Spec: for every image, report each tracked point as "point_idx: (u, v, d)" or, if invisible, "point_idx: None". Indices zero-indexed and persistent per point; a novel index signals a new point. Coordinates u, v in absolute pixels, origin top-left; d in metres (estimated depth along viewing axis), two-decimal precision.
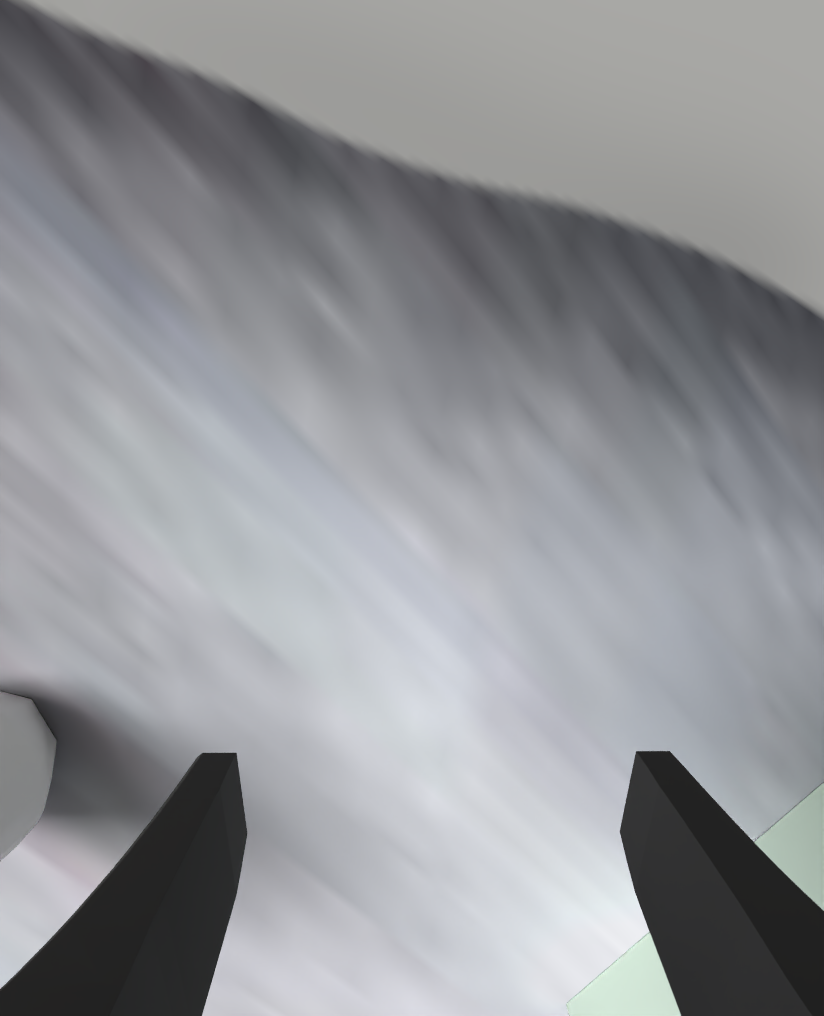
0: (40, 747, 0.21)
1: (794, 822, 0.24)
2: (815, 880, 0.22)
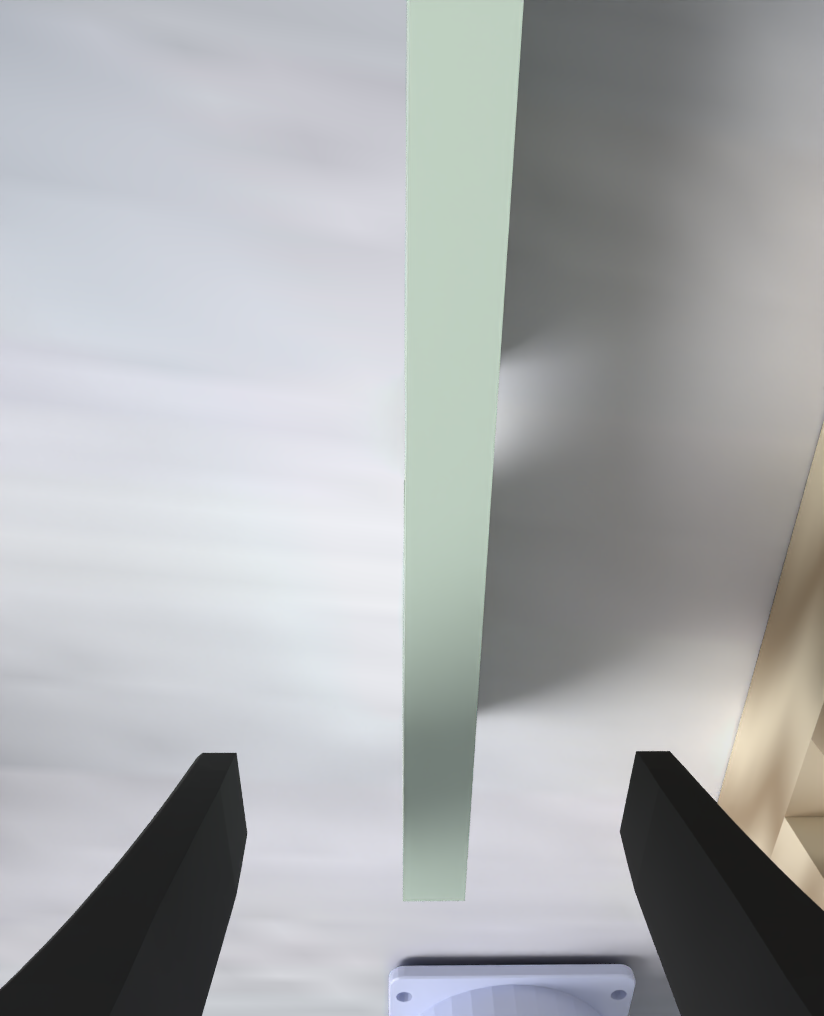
0: None
1: None
2: None
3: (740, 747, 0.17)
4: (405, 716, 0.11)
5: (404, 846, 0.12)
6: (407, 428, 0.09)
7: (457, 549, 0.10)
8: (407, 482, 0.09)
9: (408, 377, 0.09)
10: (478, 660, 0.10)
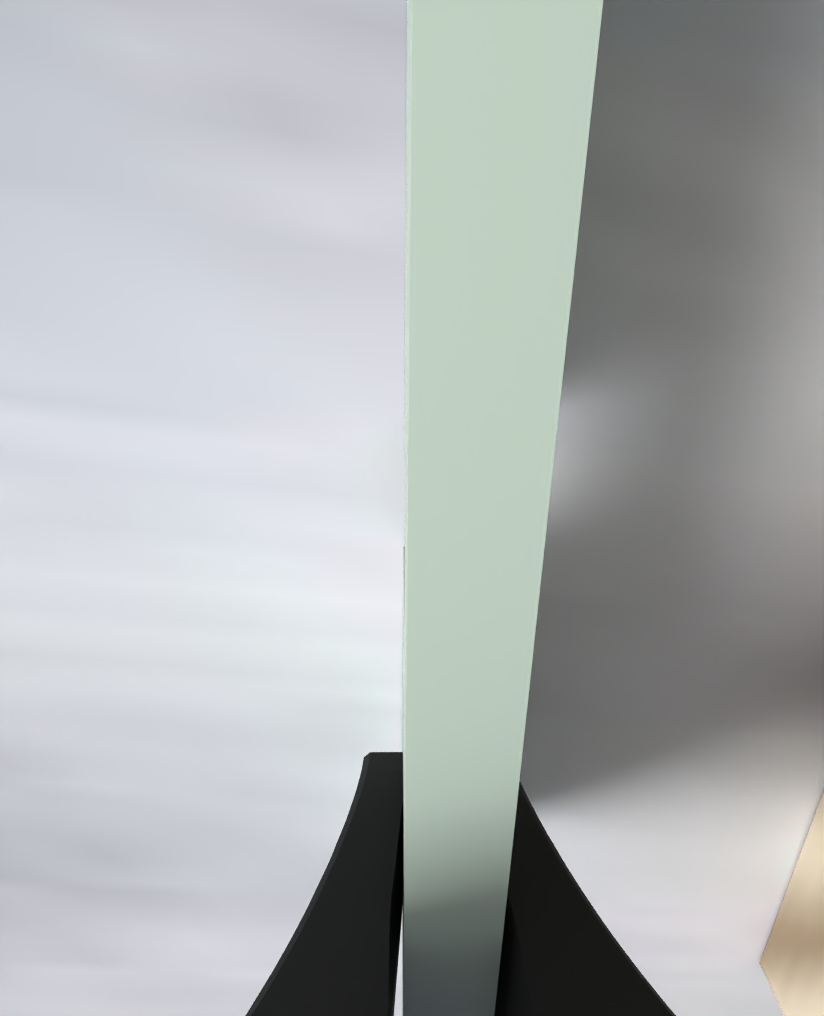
0: None
1: None
2: None
3: (811, 856, 0.14)
4: (406, 910, 0.08)
5: None
6: (409, 537, 0.06)
7: (483, 702, 0.06)
8: (409, 613, 0.06)
9: (411, 462, 0.05)
10: (510, 842, 0.07)
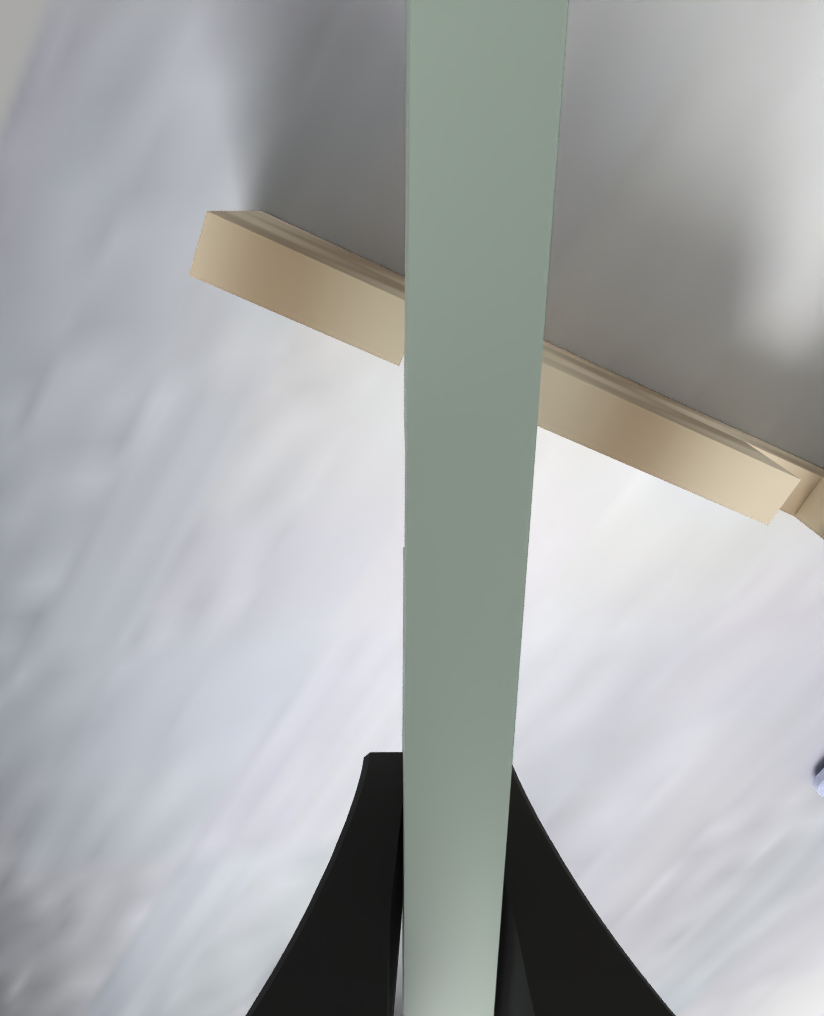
0: None
1: None
2: None
3: None
4: (406, 877, 0.08)
5: None
6: (408, 485, 0.06)
7: (477, 651, 0.07)
8: (408, 560, 0.06)
9: (410, 413, 0.06)
10: (506, 802, 0.08)
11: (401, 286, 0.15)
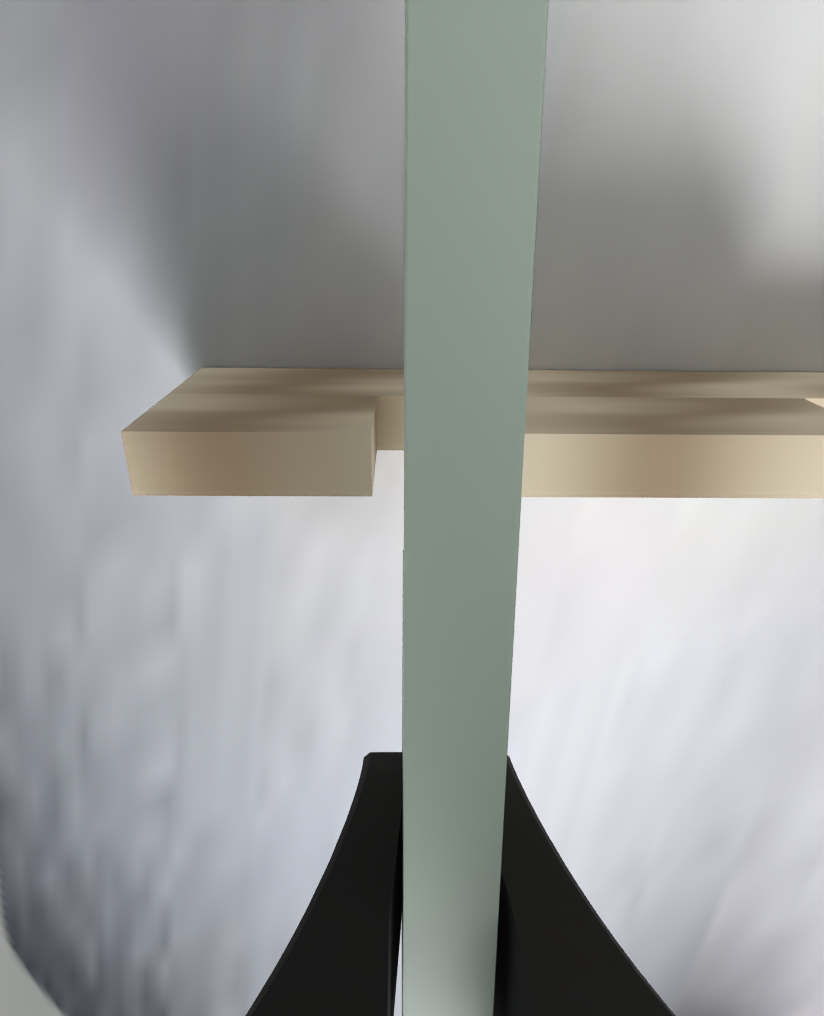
0: None
1: (404, 244, 0.10)
2: None
3: None
4: (405, 856, 0.08)
5: None
6: (407, 458, 0.07)
7: (474, 622, 0.07)
8: (407, 531, 0.07)
9: (408, 390, 0.06)
10: (503, 776, 0.08)
11: (353, 398, 0.13)
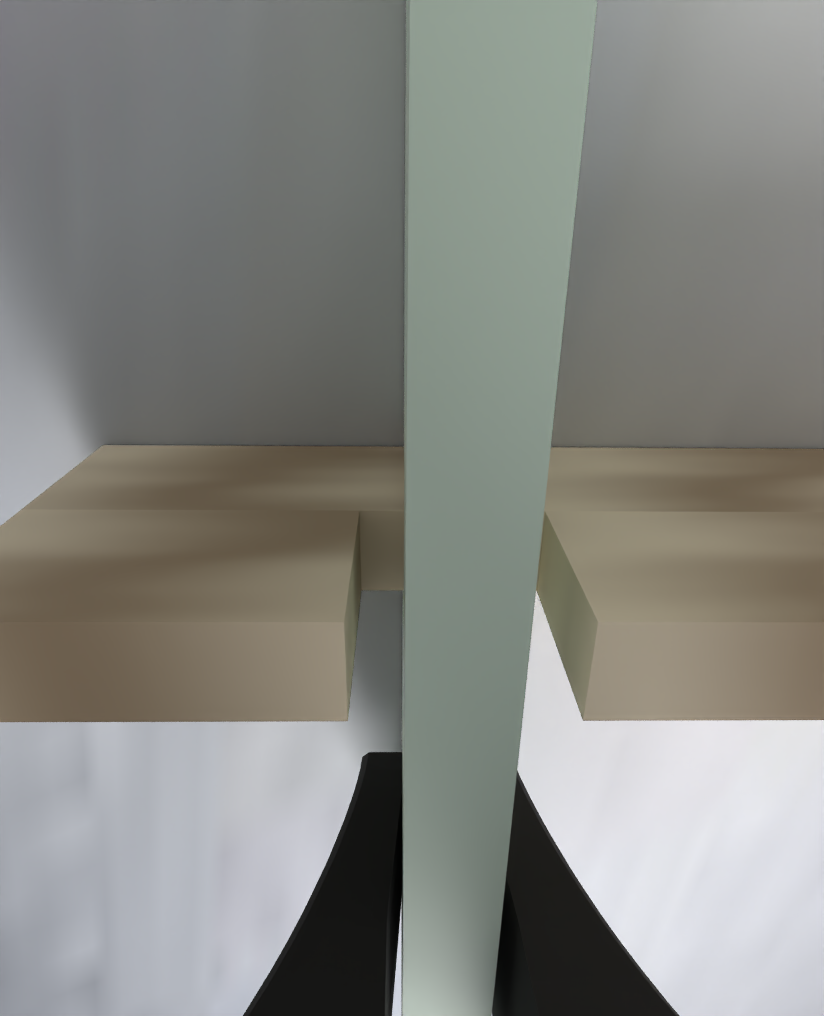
0: None
1: None
2: (406, 300, 0.07)
3: None
4: (405, 912, 0.08)
5: None
6: (407, 550, 0.06)
7: (479, 710, 0.07)
8: (407, 623, 0.06)
9: (409, 478, 0.06)
10: (506, 846, 0.07)
11: (321, 518, 0.08)
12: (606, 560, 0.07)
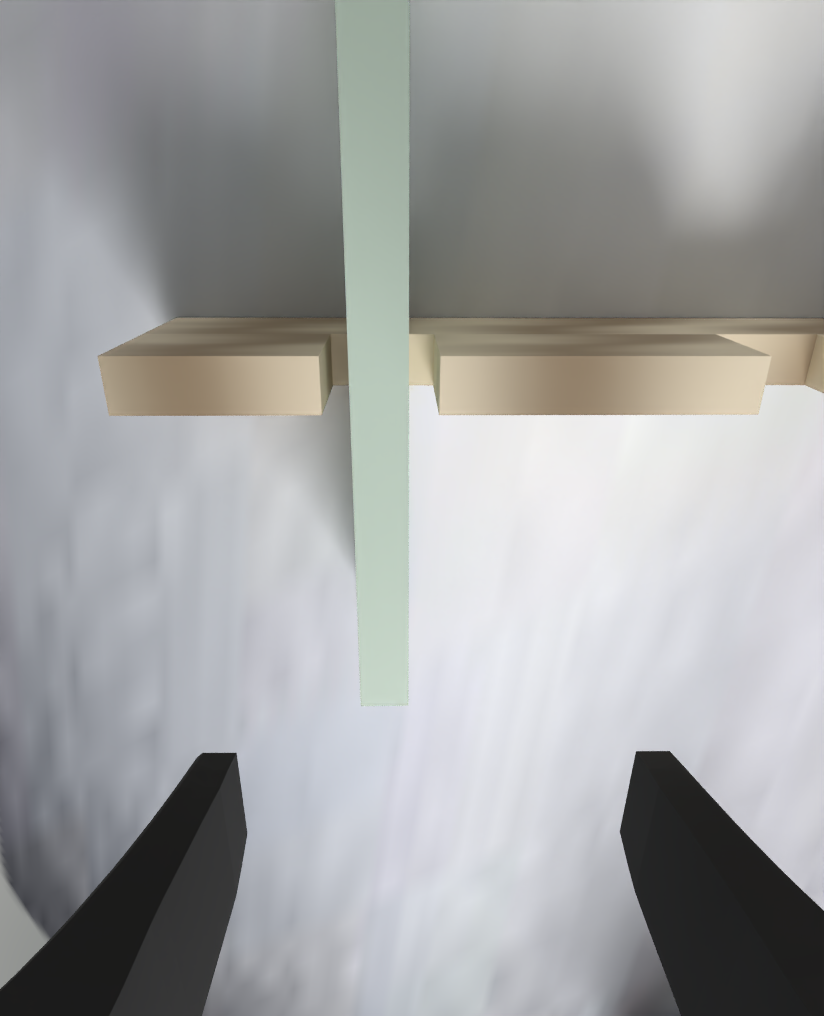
0: None
1: None
2: None
3: None
4: (355, 544, 0.15)
5: (359, 657, 0.16)
6: (347, 316, 0.13)
7: (386, 408, 0.13)
8: (349, 357, 0.13)
9: (346, 278, 0.12)
10: (407, 498, 0.14)
11: (309, 335, 0.15)
12: (456, 344, 0.14)
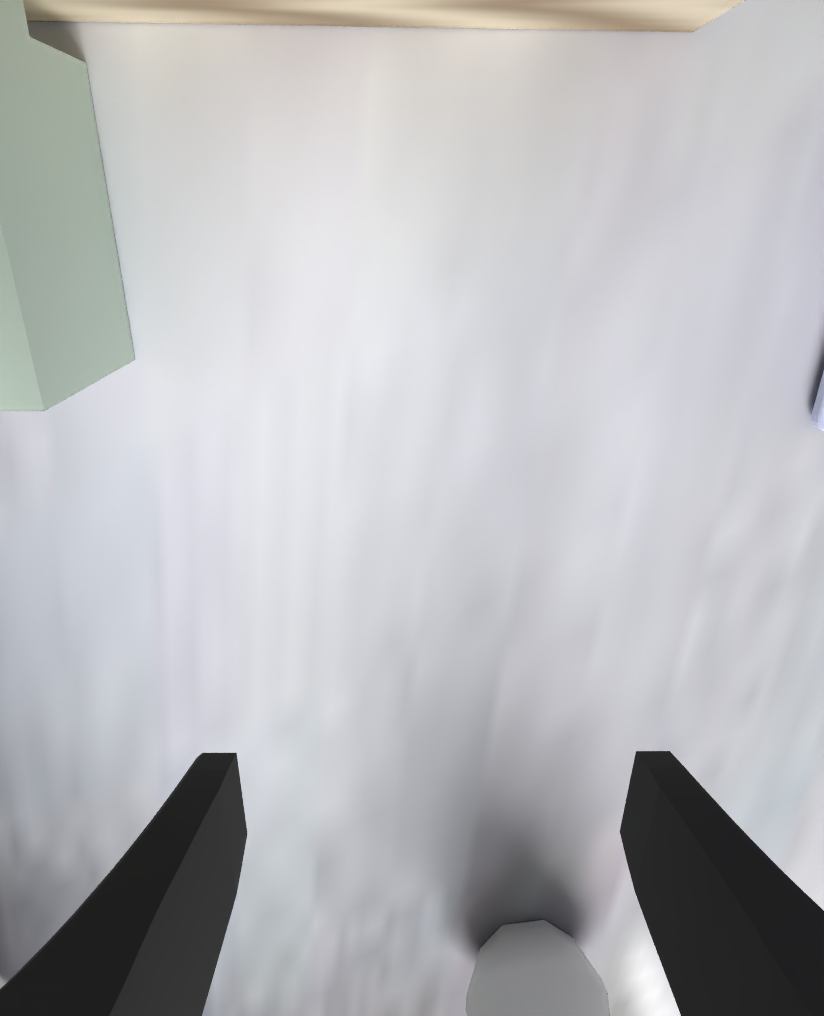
0: (478, 976, 0.26)
1: None
2: None
3: (506, 26, 0.15)
4: None
5: None
6: None
7: None
8: None
9: None
10: None
11: None
12: None
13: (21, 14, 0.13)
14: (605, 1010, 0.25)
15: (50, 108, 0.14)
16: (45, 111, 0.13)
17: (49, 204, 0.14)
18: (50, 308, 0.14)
